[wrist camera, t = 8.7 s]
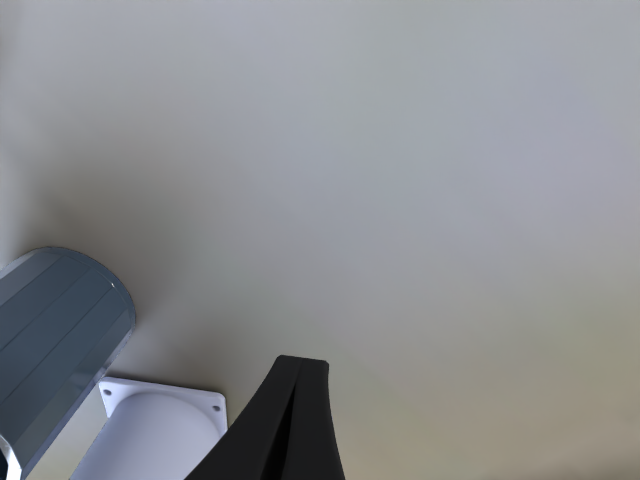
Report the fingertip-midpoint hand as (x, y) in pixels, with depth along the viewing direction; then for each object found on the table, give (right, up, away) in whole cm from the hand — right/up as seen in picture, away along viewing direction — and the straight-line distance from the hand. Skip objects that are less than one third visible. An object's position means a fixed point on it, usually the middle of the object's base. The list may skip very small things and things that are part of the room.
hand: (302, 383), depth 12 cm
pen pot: (-13, 0, +13) cm, 18 cm away
